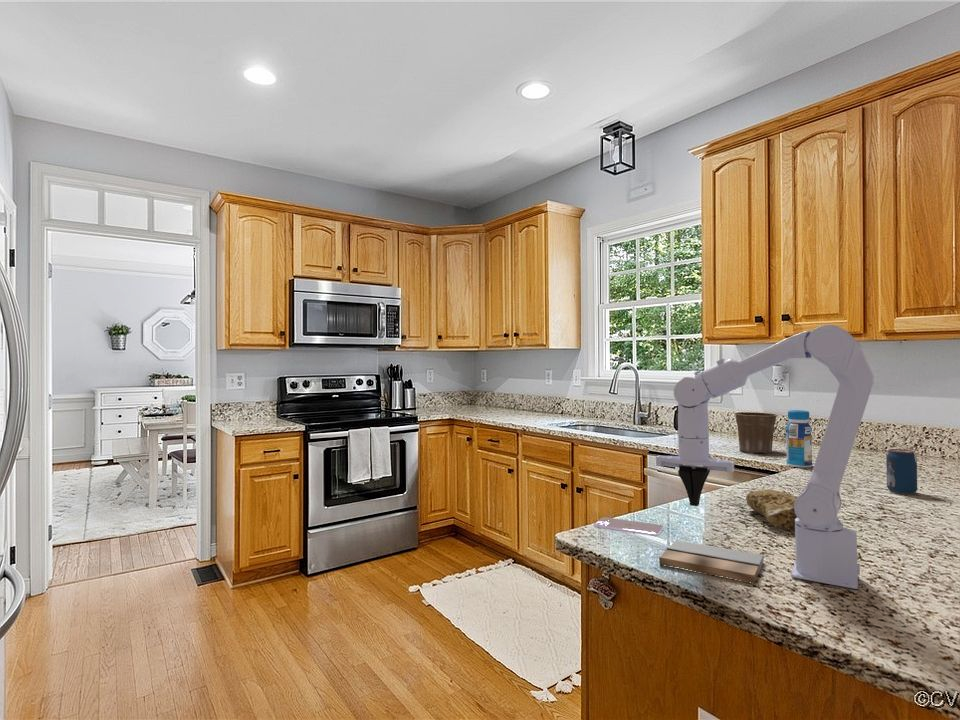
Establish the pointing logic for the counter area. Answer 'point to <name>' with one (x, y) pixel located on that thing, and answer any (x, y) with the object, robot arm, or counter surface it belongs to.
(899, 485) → the soda can
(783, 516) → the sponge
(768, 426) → the plant pot
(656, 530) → the mobile phone
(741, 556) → the grey plank
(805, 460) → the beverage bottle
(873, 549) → the counter surface
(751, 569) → the walnut board
